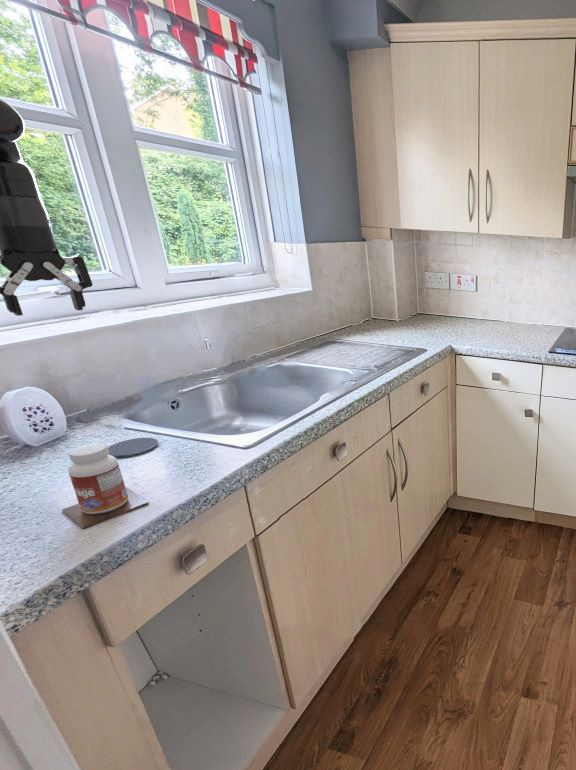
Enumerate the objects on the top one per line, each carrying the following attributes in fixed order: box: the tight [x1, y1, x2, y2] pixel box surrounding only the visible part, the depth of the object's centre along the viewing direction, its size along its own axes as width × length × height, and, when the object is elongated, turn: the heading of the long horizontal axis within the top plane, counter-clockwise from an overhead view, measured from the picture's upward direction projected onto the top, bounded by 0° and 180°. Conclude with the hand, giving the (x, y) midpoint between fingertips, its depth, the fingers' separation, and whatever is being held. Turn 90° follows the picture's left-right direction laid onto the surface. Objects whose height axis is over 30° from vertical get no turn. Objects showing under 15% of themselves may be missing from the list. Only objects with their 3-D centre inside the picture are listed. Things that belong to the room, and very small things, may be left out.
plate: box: [107, 437, 159, 459], centre depth 100 cm, size 9×9×1 cm
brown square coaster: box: [61, 486, 150, 530], centre depth 80 cm, size 9×9×1 cm
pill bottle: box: [67, 442, 128, 514], centre depth 78 cm, size 6×6×11 cm
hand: (49, 312), depth 88 cm, fingers open, 8 cm apart
